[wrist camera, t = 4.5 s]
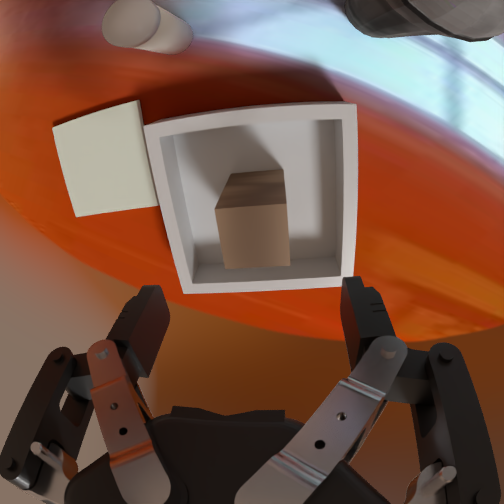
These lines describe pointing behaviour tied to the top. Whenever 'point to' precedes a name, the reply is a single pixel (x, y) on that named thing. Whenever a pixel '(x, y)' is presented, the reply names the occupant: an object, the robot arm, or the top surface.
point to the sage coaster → (106, 161)
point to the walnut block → (254, 220)
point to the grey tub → (260, 159)
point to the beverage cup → (428, 18)
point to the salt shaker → (145, 27)
